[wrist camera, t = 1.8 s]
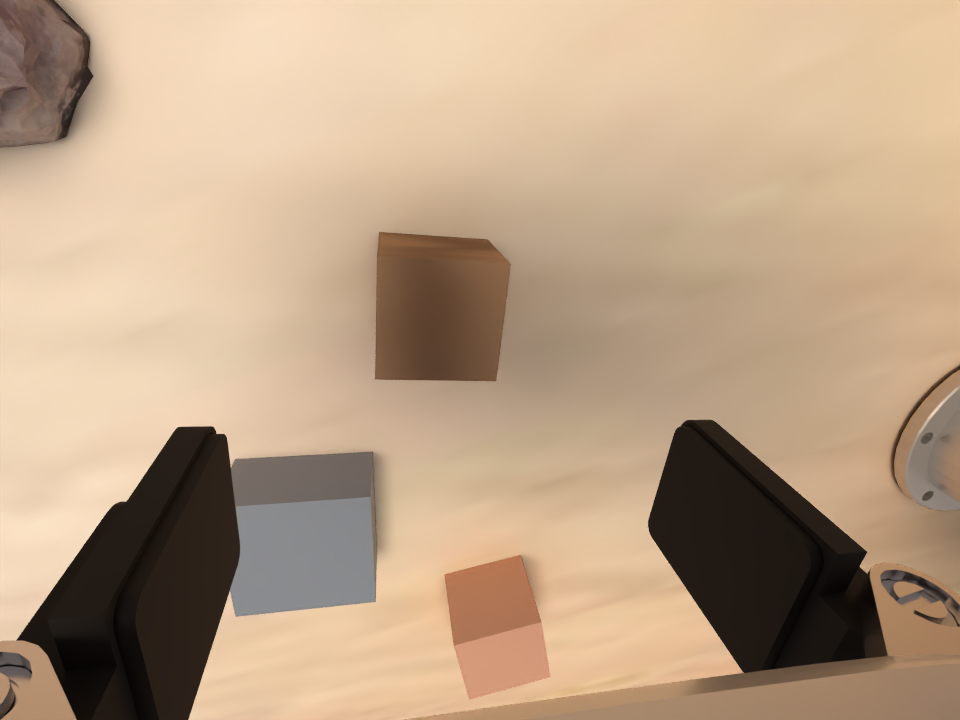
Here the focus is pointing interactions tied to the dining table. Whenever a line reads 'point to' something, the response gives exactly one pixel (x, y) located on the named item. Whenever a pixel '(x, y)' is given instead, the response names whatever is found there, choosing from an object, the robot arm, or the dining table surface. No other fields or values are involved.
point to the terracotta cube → (496, 627)
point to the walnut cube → (439, 308)
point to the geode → (39, 71)
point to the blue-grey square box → (304, 532)
